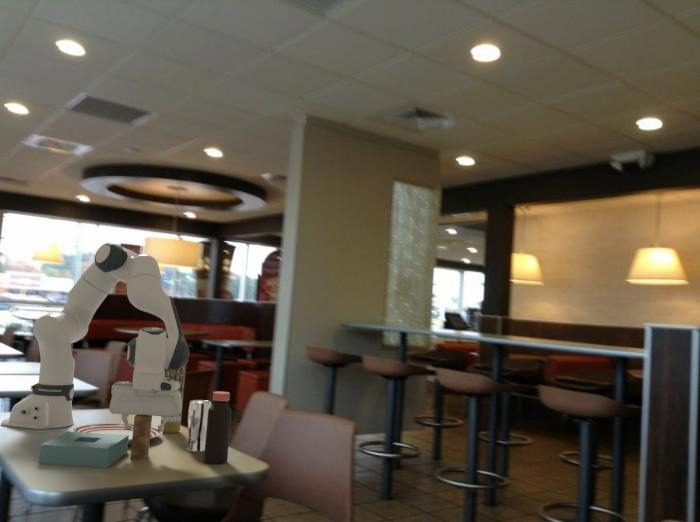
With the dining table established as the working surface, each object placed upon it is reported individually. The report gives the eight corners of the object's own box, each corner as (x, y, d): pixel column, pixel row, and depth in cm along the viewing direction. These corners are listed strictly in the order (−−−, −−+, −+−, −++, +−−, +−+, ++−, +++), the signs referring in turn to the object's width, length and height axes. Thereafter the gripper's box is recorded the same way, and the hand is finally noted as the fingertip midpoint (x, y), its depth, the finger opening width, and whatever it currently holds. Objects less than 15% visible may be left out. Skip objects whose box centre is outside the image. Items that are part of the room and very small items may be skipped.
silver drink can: (187, 447, 195) (191, 399, 196) (209, 448, 196) (213, 400, 197) (183, 452, 188) (187, 402, 189) (205, 453, 189) (210, 403, 190)
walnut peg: (130, 458, 176) (134, 416, 177) (134, 455, 180) (138, 413, 181) (144, 459, 176) (148, 417, 177) (148, 456, 180) (152, 414, 181)
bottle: (207, 458, 183) (213, 390, 185) (229, 459, 183) (235, 392, 184) (200, 463, 176) (207, 393, 178) (224, 465, 176) (230, 394, 178)
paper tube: (182, 431, 219) (189, 360, 221) (175, 434, 212) (182, 361, 214) (164, 429, 220) (171, 359, 222) (156, 432, 213) (163, 360, 215)
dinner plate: (138, 428, 219) (139, 419, 219) (177, 444, 199) (178, 433, 199) (58, 435, 200) (60, 424, 200) (92, 453, 180) (93, 441, 180)
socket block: (38, 463, 164) (40, 444, 165) (65, 448, 182) (67, 431, 182) (106, 467, 165) (108, 448, 165) (127, 452, 183) (128, 435, 183)
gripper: (108, 382, 177) (104, 430, 175) (180, 385, 178) (176, 434, 177) (115, 379, 183) (111, 426, 182) (185, 383, 184) (181, 430, 183)
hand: (144, 430), depth 179 cm, fingers open, 8 cm apart
